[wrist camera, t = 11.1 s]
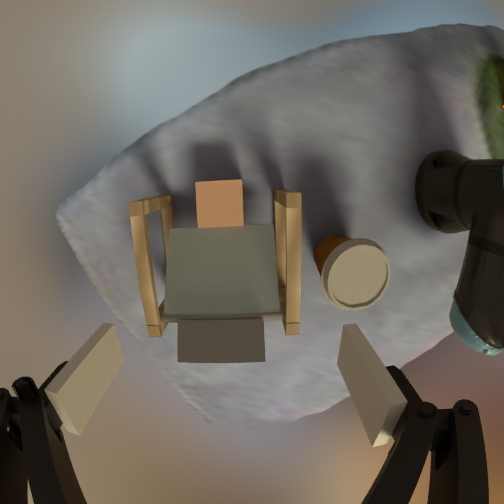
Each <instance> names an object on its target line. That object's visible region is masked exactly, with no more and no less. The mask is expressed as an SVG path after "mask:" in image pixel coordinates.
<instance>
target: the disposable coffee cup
mask: <svg viewBox="0 0 504 504" xmlns="http://www.w3.org/2000/svg"><path fill="white" fill-rule="evenodd" d="M314 259H315V262H316V265H317V268H318V271H319V273H320V276H321V286H322V289H323V292H324V295H325V296H326V298H327V299H328V301H329V302H331V303H332V304H333V305H334V306H336V307H338V308H340V309H344V310H350V311H359V310H363V309H366V308H368V307H370V306H372V305H374V304H375V303H376V302H377V301H378V300H379V299H380V298H381V297H382V296H383V294H384V293H385V291H386V289H387V287H388V284H389V281H390V275H391V270H390V264H389V261H388V258H387V255H386V253H385V252H384V250H383V249H382V247H380V246H379V245H378V244H377V243H375V242H374V241H371V240H368V239H364V238H356V239H352V238H347V237H342V236H338V235H330V236H327V237H325V238H323V239H322V240H321V241H320V242H319V243H318V244H317V246H316V248H315V252H314Z"/></svg>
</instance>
